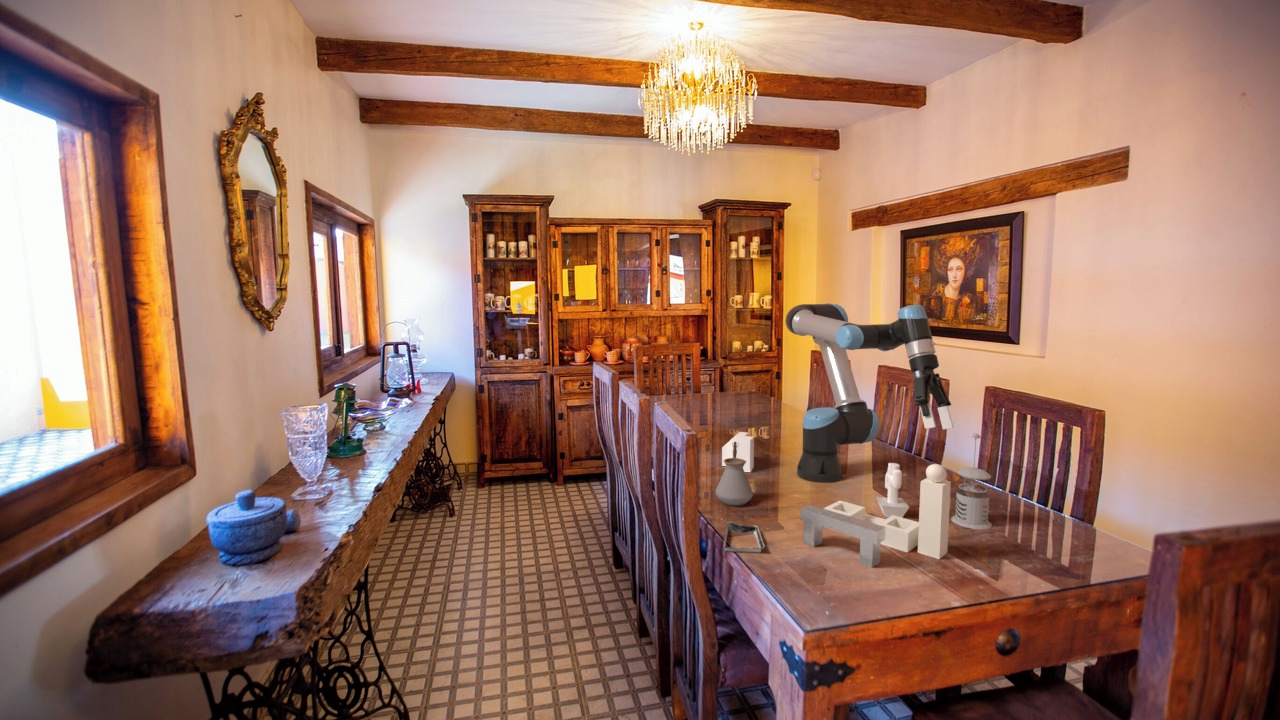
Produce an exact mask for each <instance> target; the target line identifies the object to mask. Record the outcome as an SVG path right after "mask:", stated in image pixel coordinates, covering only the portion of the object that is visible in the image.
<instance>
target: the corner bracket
mask: <svg viewBox="0 0 1280 720" xmlns="http://www.w3.org/2000/svg"><path fill="white" fill-rule="evenodd" d="M734 442H736V446H738V444H739V446H738V447H737V448H736V449H737V455H736V458H739V459H743V460H745V461H746V463H745V465H744V466H743V469H744V472H750V473H752V472H753V470H754V469H753V468H754V465H755V461H754V460H755V453H754V452H755V437H754V436H749V432H746V431H739V432H738V433H736V434H735V435H734V436H733V437H732V438H731V439H730V440H729V441H727V443H724V444H725V445H723V446H722V448H721V467H722V466H726V464H725V463H724V460H725V459H728V458H733V449H734V447H733V446H734ZM732 443H733V444H732ZM732 445H733V446H732ZM752 469H753V470H752Z"/></svg>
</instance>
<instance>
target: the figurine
mask: <svg viewBox="0 0 1280 720" xmlns="http://www.w3.org/2000/svg"><path fill="white" fill-rule="evenodd" d="M887 466H888V467H887V470H886V472H885V473H886V474H885V477H884V488H885V489H886V490H887V497H882V496H881V497H878V496H876V497H875V498H876V501H877V503H878V505H879V507H880V509H881V512H882V514H883V515H884V516H885V518H889V517H890V516H892V515H894V516H898V517H902V518H904V516H905V514H906V513H907V512H908V510H909V509H910V506H909V505H908V504H907V502H906V501H905V500H904V499H903V498H902V497H901V498H900V497H899V489H901V488H902V487H901V486H902V484H903V483H902V481H903V471H902V470H901V469H900V464H899V463H896V462H888V465H887Z"/></svg>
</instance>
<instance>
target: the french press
mask: <svg viewBox="0 0 1280 720" xmlns="http://www.w3.org/2000/svg"><path fill="white" fill-rule="evenodd" d="M980 437H981V435H980V434H979V433H972V436H971V438H973V439H974V454H973V455H974V456H973V467H963V468H960V469H958V470H957V471H956V474H957V475H958V476H961V477H963V478H964V483H961V484H958V486H957V487H958V489H957V490H956V498H955V499H956V500H955V515H953V516H952V517H951V519H950V520H951V521H952V522H953V524H955V525H958V526H961V527H963V528H967V529H971V530H972V529H973V530H989V529H991V528H992V526H993V525H992V523H991V522H990V521H989V509H990V494H988V492H989V489H988V488H987V487H984V486H982V485H979V484H975V480H976V481H988V480H990V479H991V478H992V475H991V474H990V473H988V472H987V471H986V470H984V469H981V468H979V467H976V450H977V439H981V438H980ZM967 480H970V483H966V481H967ZM969 494H970V495H971V497H969Z"/></svg>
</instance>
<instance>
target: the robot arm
mask: <svg viewBox="0 0 1280 720" xmlns="http://www.w3.org/2000/svg"><path fill="white" fill-rule="evenodd" d="M897 318H898V319H896V320H895V321H893V322H891V323H882V324H881V323H879V324H877V323H876V324H857V323H852V322H849V318H848V314H847V312H846V310H845V309H844V308H843V307H842V306H841V305H839V304H837V303H829V302H828V303H817V304H816V303H810V304H809V303H807V304H806V303H804V304H797V305H795V306H793V307H792V308H791V309H789V311H788V312H787V314H786V316H785V325H786V328H787V329H788V331H789V332H790V333H792V334H794V335H798V336H800V337H807V336H810V337H812V339H813V343H815V344H817V345H818V346H819V350H820V352H821V356H822V360H823V363H824V367H825V371H826V374H827V378H828V382H829V385H830V389H831V392H832V396H833V399H834V403H835V405H834V407H828V406H825V407H815V408H811V409H809V410H806V411H805V413H804V414H803V419H802V452H801V455H800V459H799V461H798V464H797V468H796V475H797V476H798V477H799V478H801V479H803V480H807V481H811V482H818V483H832V482H833V483H834V482H837V481H840V480H842V479H843V469H842V465H841V461H840V459H839V456H838V451H839V450H838V447H839V446H841V445H842V446H843V445H854V444H860V445H862V444H864V443H870V442H872V441H874V440H875V438H876V437H877V435H878V433H879V430H880V419H879V416H878V414H877V412H876V411H875V410H873V409H871V408H869V407H868V405H867V401H865V400H863V399H861V397H860V393H859V390H858V387H857V384H856V380H855V377H854V373H853V370H852V367H851V363H850V360H849V357H848V352H847V350H849V351H855V350H869V349H870V350H871V349H873V350H875V349H876V350H879V351H881V352H889V351H893V350H895V349H897V348H899V347H901V346H904V347H905V351H906V356H907V359H909V360H908V364H909V367H910V372H912V375H913V383H914V388H913V391H914V402H915V403H914V404H915V406H916V407H917V406H919V409H920V413H921V418H922V422H923V425H924V429H925V430H926V429H933V428H937V426H936V421H935V417H934V413H933V409H932V405H931V403H929V401H930V393H931V395H932V397H933V398H934V400H935V402H936V405H937V406H938V407H937V411H938V415H939V420H940V424H941V428H942V430H948V429H949V430H950V429H954V425H953V421H952V418H951V413H950V408H949V407H950V406H952V403H951V401H950V399H949V396H948V394H947V392H946V390H945V386H944V385H943V383H942V381H941V377H940V374H939V372H938V373H935V371H934V370H935V369H938V368H939V367H940V364H939V360H938V355H937V354H935V353H936V348H935V346H936V342H934V341H933V337H932V331H931V327H930V324H929V319H928V318H929V317H928V316H927V312H926V309H925V306H923V305H922V304H912V305H907V306H903V307H901V308H900V309H899V310H898V311H897Z"/></svg>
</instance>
